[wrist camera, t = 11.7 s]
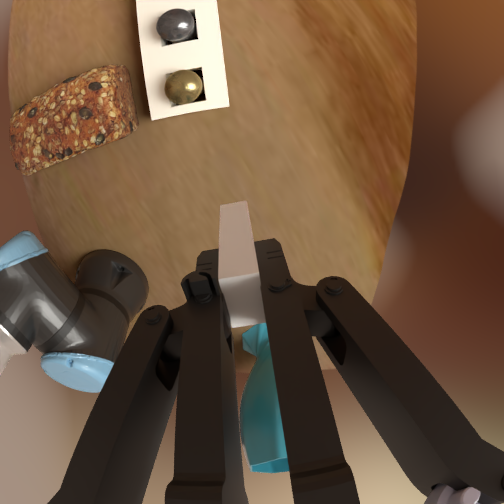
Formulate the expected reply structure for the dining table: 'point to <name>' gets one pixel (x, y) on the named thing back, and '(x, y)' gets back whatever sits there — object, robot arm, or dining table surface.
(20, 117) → the bread
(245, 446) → the vase
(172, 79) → the brass plug
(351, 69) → the dining table surface
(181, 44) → the slab
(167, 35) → the grey plug
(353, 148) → the dining table surface
